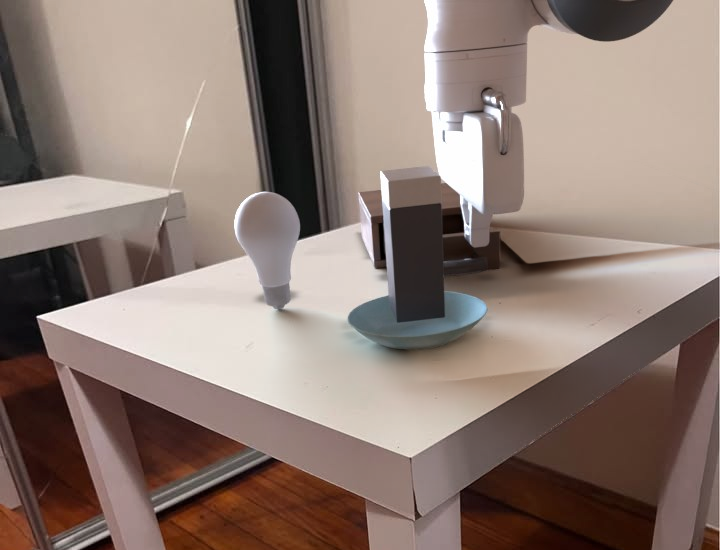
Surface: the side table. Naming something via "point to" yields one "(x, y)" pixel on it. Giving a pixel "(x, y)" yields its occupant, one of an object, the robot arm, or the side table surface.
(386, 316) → the saucer
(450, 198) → the cabinet
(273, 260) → the lightbulb
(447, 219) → the drawer
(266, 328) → the side table surface
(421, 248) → the two-tone tall pillar
